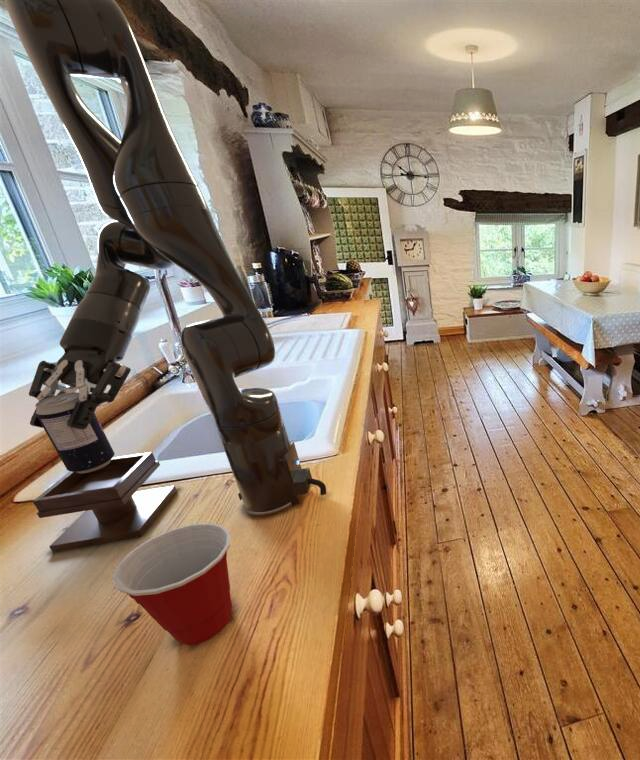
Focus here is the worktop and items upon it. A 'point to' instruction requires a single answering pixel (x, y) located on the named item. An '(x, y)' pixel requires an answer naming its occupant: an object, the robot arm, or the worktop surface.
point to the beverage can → (74, 435)
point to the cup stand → (105, 502)
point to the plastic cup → (181, 580)
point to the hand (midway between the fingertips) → (57, 427)
